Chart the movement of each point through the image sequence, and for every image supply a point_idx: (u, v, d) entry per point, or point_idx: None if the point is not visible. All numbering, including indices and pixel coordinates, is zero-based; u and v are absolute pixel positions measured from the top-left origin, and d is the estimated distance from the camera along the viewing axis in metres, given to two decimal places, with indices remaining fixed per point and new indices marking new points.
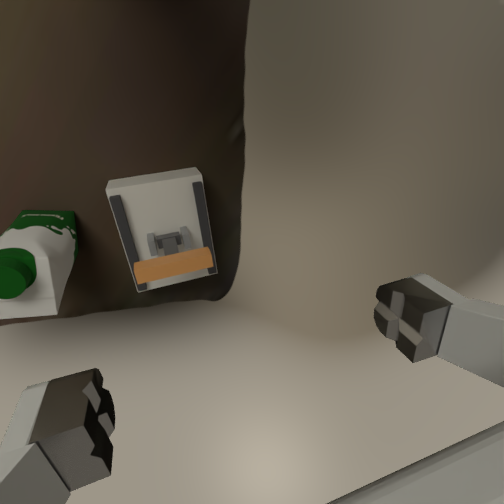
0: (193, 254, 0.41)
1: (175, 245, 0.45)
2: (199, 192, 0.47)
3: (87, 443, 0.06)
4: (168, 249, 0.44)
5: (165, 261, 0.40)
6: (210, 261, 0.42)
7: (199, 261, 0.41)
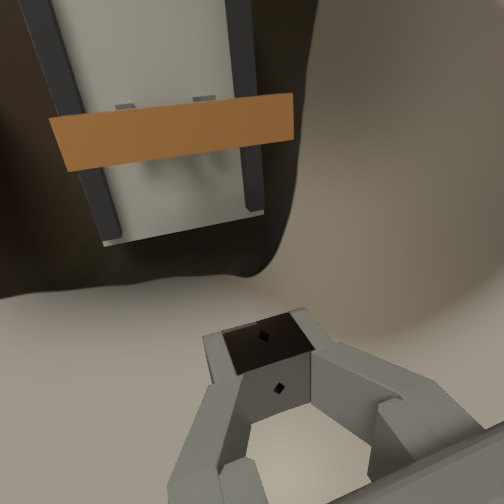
0: None
1: None
2: None
3: (274, 379, 0.07)
4: None
5: (156, 106, 0.13)
6: (288, 120, 0.14)
7: (258, 115, 0.14)
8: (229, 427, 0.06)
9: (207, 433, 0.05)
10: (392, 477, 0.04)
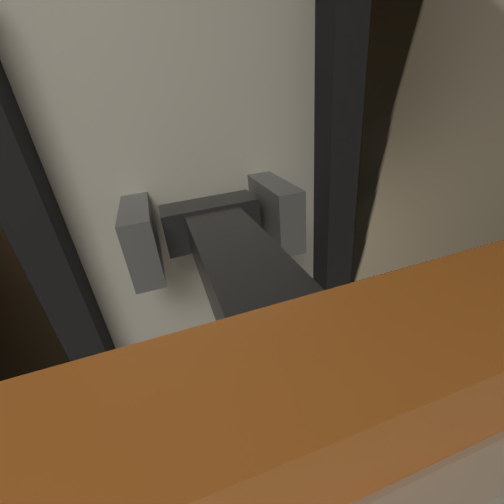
0: (499, 310, 0.05)
1: (262, 239, 0.08)
2: (354, 4, 0.10)
3: None
4: (232, 261, 0.07)
5: (263, 400, 0.04)
6: None
7: None
8: None
9: None
10: None
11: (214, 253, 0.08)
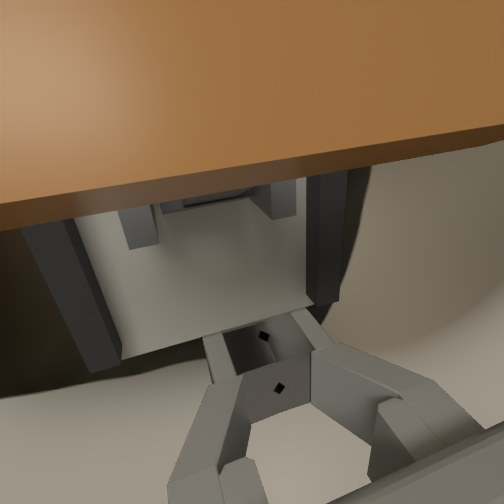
0: None
1: None
2: None
3: (274, 379, 0.07)
4: None
5: None
6: None
7: None
8: (229, 427, 0.06)
9: (207, 433, 0.05)
10: (392, 477, 0.04)
11: None
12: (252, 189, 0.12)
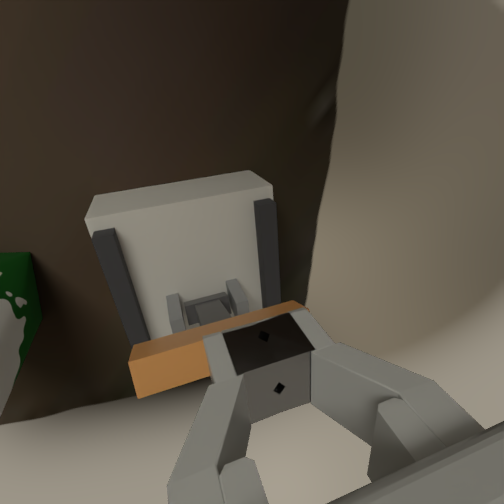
0: (268, 315, 0.18)
1: (222, 309, 0.22)
2: (269, 220, 0.24)
3: (274, 379, 0.07)
4: (209, 316, 0.21)
5: (205, 334, 0.17)
6: None
7: None
8: (228, 427, 0.06)
9: (207, 433, 0.05)
10: (392, 477, 0.04)
11: (203, 315, 0.22)
12: (230, 310, 0.26)
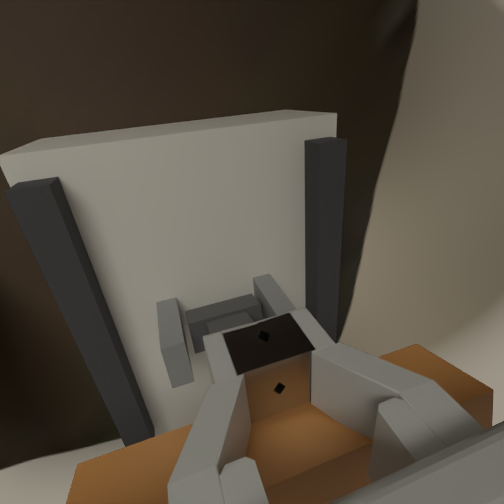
0: None
1: None
2: (332, 172, 0.14)
3: (275, 379, 0.07)
4: None
5: (254, 458, 0.07)
6: None
7: None
8: (228, 427, 0.06)
9: (207, 433, 0.05)
10: (392, 477, 0.04)
11: None
12: None
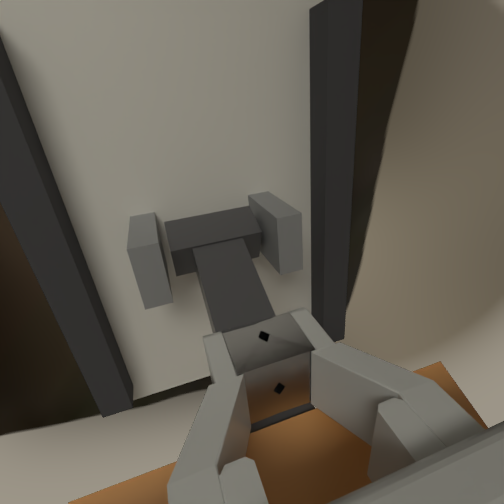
0: None
1: (265, 309, 0.10)
2: (344, 42, 0.11)
3: (274, 379, 0.07)
4: None
5: None
6: None
7: None
8: (229, 427, 0.06)
9: (207, 433, 0.05)
10: (392, 477, 0.04)
11: (226, 326, 0.10)
12: (258, 253, 0.13)
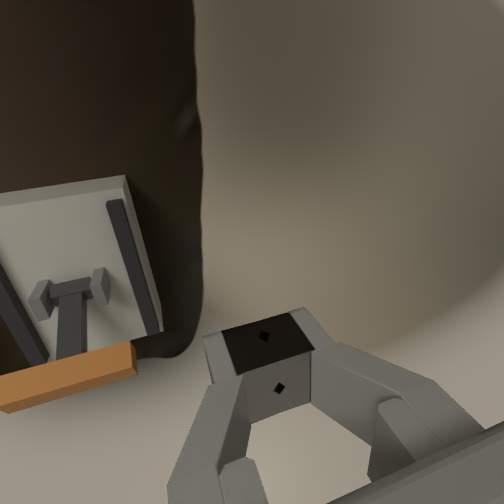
0: (103, 365, 0.25)
1: (78, 322, 0.28)
2: (117, 217, 0.29)
3: (274, 379, 0.07)
4: (65, 334, 0.27)
5: (52, 381, 0.24)
6: (132, 372, 0.26)
7: (113, 376, 0.26)
8: (228, 427, 0.06)
9: (207, 433, 0.05)
10: (392, 477, 0.04)
11: (61, 328, 0.27)
12: None
